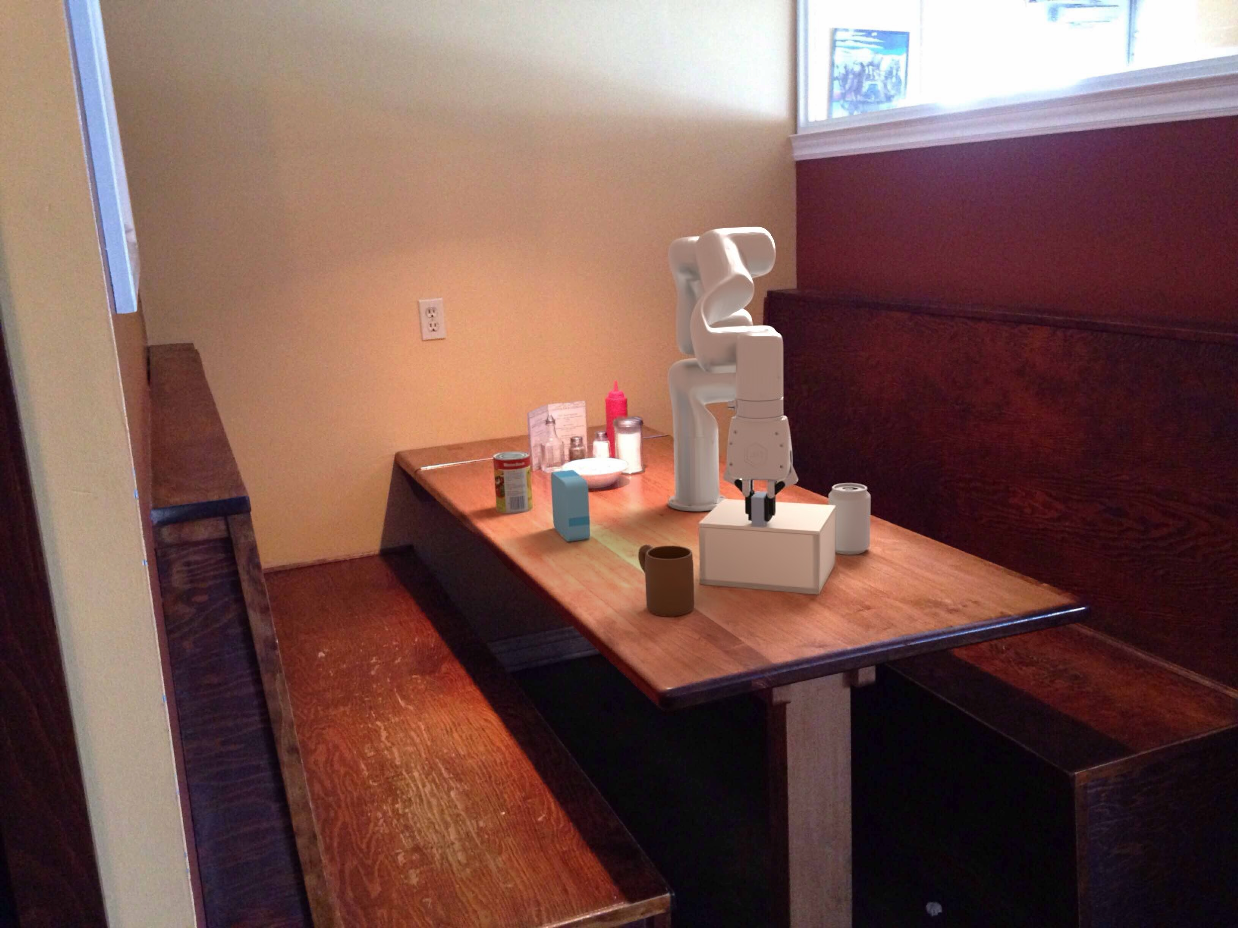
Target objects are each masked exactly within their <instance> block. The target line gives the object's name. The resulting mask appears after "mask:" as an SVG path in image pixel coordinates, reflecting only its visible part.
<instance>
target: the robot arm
mask: <svg viewBox="0 0 1238 928" xmlns="http://www.w3.org/2000/svg"><path fill="white" fill-rule="evenodd" d="M776 256H777V252H776V245H775V241H774V239H773V237H772V236H771V233H770V232H769V231H768V230H766V229H765V228H763V227H759V226H752V227H751V226H747V227H726V228H723V227H722V228H715V229H714V228H713V229H710V230H707V231H705V232H704V233H702V234H701V235H698V236H697V235H696V236H694V235H693V236H686V237H684V236H683V237H680V238H675V239H674V240H673V241H672V242H671V243H670V245H669V247H668V253H667V257H668V266H669V270H670V274H671V276H672V278H673V280H674V284H675V289H676V294H677V295H676V297H677V298H676V319H675V320H676V323H675V325H676V326H675V332H676V333H675V337H676V345H677V348H678V350H679V352H680V353H681V354H683V355H687V356H692V357H694V358H685V359H680V360H678V361H676V362H674V363H673V364H672V365H670V366H669V369H668V372H667V385H668V391H669V397H670V402H671V410H672V411H671V412H672V426H673V427H672V429H673V430H672V431H673V461H674V466H673V467H674V469H673V470H674V495H672V496H670V497H669V498H668V500H667V505H668V506H669V507H670V508H672V509H674V510H676V511H677V510H679V511H685V512H709V511H712V510H713V509H714V508H715V507H716V506H717V505H718V504H719V503H720V502H721V501H722V500H723V499H727V497H726V496H724V495H723V494H721V493H720V470H719V469H720V465H719V463H720V462H719V461H720V459H719V457H720V456H719V455H720V454H719V453H720V452H719V424H718V421H717V419H716V418H715V416H714V415H713V414H712V413H711V411H710V410H709V409H707V407H706V405H708V404H712V403H713V404H715V403H727V409H728V410H732V411H734V415H733V416H731V418H730V423H729V428H728V437H727V449H726V450H727V451H726V468H725V470H724V472H723V476H722V479H723V481H726V482H727V483H730V484H731V485H734V486H735V487H736V488H737V489H738V490H739V491H740V492H741V494H742V496H743V497H744V500H745V514H748V520H749V521H752V510H751V497H752V496H753V495H754V494H755V493H756V492H755V489H754V483H755V482H754V481H766V492H767V494H766V498H765V499H764V520H765V522H769V521H770V520H771V518H772V516H774V515H775V513H776V502H777V500H776V499H777V498H776V497H777V495H778V494H779V493H780V492H781V491H782V490H783V489H784V488H788V487H790V486H793V485H796V484H797V482H798V481H799V477H798V475H797V473H796V470H795V468H794V466H793V447H792V439H791V438H792V437H791V429H790V425H789V419H788V417H787V416H786V415H784V341H783V339H784V338H783V336H782V335H781V334H780V333H778V332H777V331H776V330H775V328H774V327H773V326H770V325H754V322H753V320H752V319H753V318H752V316H751V315H750V313H749V312H748V311H747V310H745V309H744V308H745V307H747V305H749V304H750V302H751V301H752V300H753V297H754V295H755V283H754V281H753V279H755V278H759V277H762V276H766V275H767V274H768V273H770V272H771V271H772V269H773V268H774V266H775V262H776Z"/></svg>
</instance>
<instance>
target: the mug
mask: <svg viewBox="0 0 1238 928" xmlns="http://www.w3.org/2000/svg"><path fill="white" fill-rule="evenodd" d="M637 555H638V563H639V565H640V568H641V570H642V572H643V573H644V577H645V581H644V582H645V603H646V608H647V610H648V611H649V612H650V613H651V614H653V615H655V616H659V617H660V616H661V617H678V616H683V615H687V614H688V613H690V612H692V610H693V609H694V605H695V573H694V572H695V570H694V558H693V552H692V550H691V549H690V548H688V547H684V546H680V545H679V546H678V545H660V546H652V544H644V545H643V544H642V545H641V546H640V548H639V550H638V554H637Z"/></svg>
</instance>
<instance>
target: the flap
mask: <svg viewBox="0 0 1238 928" xmlns="http://www.w3.org/2000/svg"><path fill="white" fill-rule="evenodd" d="M754 493H755V494H754V495H753V496H752V497H751V510H752V521H749V520H748V514H745V499H732V498H731V499H729V498H726V499H723V500H722V501H721V502H720V503H719V504H718V505H717V506H716V507H715V508H714V509H713V510H710V511H709V512H708V514H707V515H705V516H704V518H702V519H701V520H700V521H699V522H698V528H699V527H712V528H726V529H741V530H755V531H770V532H785V533H799V534H814V535H819V534H820V533H821V531H822V530H823V528H824V526H825V525H826V523H827V522H828V520H829V519H830V517H831V515H832V514H833V512H834V511H835V509H836V505H828V504H819V503H818V504H817V503H815V504H814V503H801V502H800V503H799V502H781V501H776V513H775V515H774V516H772V518H771V520H770V521H769V522H765V520H764V499H765V498H766V494H767V491H762V490H761V491H759V490H756V492H754Z"/></svg>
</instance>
